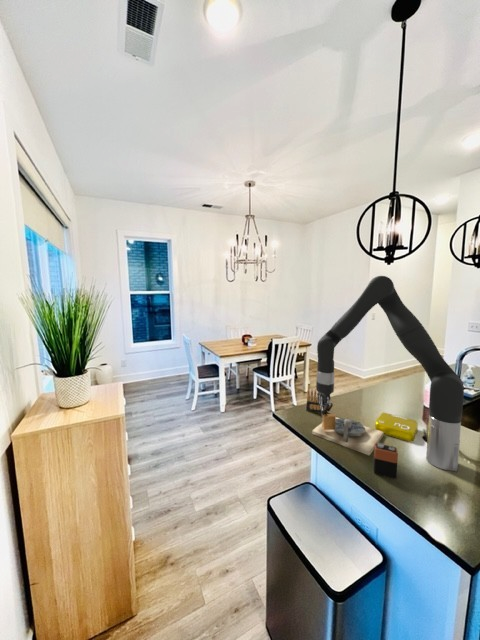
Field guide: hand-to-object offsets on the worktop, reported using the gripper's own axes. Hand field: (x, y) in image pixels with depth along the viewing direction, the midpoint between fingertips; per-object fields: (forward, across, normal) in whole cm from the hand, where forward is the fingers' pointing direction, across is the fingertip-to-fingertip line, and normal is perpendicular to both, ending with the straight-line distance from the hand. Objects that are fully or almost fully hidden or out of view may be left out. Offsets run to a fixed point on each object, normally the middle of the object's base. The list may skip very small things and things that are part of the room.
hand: (323, 417), depth 120 cm
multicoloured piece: (+3, +4, +7) cm, 9 cm away
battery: (+6, +30, +10) cm, 32 cm away
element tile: (+7, +2, +33) cm, 34 cm away
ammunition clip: (+7, -20, +4) cm, 21 cm away
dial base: (+6, +4, +9) cm, 12 cm away
